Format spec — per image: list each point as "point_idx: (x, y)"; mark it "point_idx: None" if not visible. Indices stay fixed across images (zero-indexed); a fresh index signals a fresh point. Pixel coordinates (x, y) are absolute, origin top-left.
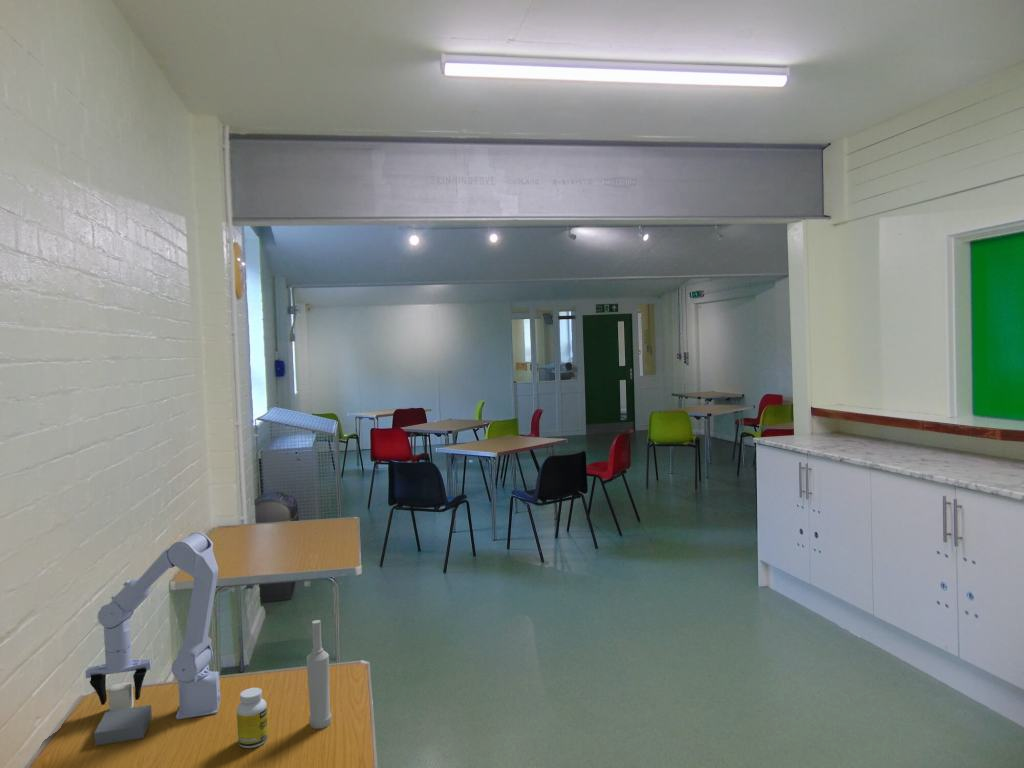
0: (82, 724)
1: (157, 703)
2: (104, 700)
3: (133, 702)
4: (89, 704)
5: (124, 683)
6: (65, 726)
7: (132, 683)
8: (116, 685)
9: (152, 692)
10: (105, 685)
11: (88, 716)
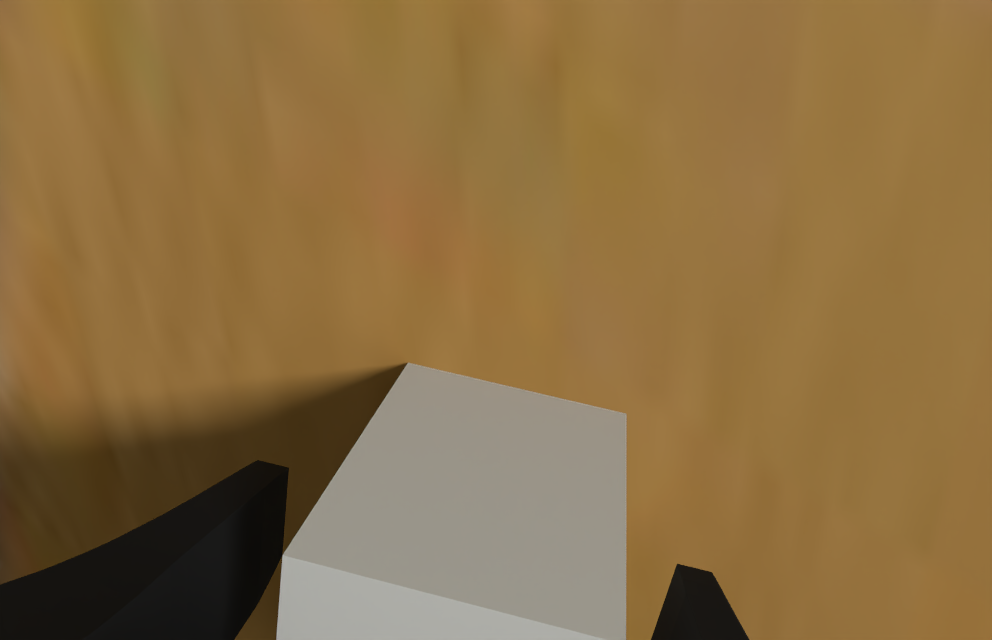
0: None
1: (896, 541)
2: (261, 574)
3: (623, 438)
4: (99, 104)
5: (483, 625)
6: (19, 503)
7: (624, 627)
8: (351, 615)
9: (904, 175)
10: (159, 579)
11: (173, 422)
